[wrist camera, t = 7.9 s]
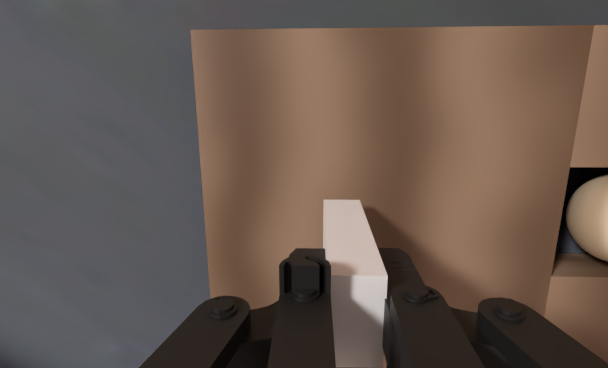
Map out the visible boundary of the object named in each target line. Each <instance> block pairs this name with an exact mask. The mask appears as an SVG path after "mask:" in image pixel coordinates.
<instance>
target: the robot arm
mask: <svg viewBox="0 0 608 368" xmlns="http://www.w3.org/2000/svg"><path fill="white" fill-rule="evenodd" d="M279 294H280V295H279V300H278V301H276V302H275V303H273V304H271V305H269V306H266V307H262V308H258V309H252V310H250V306H249V303H248V302H247V301H246V300H244V299H243V298H240V297H236V296H227V295H225V296H218V297H214V298H212V299H209V300H207V301H205V302H203V303H202V304H201V305H199V306H198V307H197V308H196V309H195V310H194V311H193V312H192V313H191V314H190V315H189V316H188V317H187V318H186V320H185V321H184V322H183V323H182V324H181V325H180V326H179V327H178V328H177V329H176V330H175V331H174V332H173V333H172V334H171V335H170V336H169V337H168V338H167V339H166V340H165V341H164V342H163V343H162V344H161V345H160V346H159V347H158V349H157V350H156V351H155V352H154V353H153V354H152V355H151V356H150V357H149V358H148V359H147V360H146V361H145V362H144V363H143V364H142V365H141V366H140V367H139V368H336V367H352V368H383V353H384V355H385V359H386V363H387V366H386V368H608V363H607V362H605V361H604V360H602V359H601V358H600V357H598V356H597V355H596V354H594V353H593V352H591V351H590V350H589V349H587V348H586V347H584V346H583V345H582V344H580V343H579V342H578V341H576V340H575V339H573V338H572V337H571V336H569V335H568V334H566V333H565V332H564V331H562V330H561V329H560V328H558V327H557V326H555V325H554V324H553V323H551V322H550V321H548V320H547V319H546V318H544V317H543V316H542V315H540V314H539V313H537V312H536V311H535V310H533V309H532V308H530V307H528V306H526V305H525V304H523V303H520V302H517V301H515V300H513V299H509V298H507V299H505V298H502V297H499V298H488V299H484V300H482V301H481V302H480V303H479V304H478V312H477V313H476V312H471V311H466V310H460V309H456V308H452V307H450V306H448V304H447V302H446V301H445V299H444V297H443V296H442V295H441V294H440V293H439V292H438V291H437V290H435V289H433V288H431V287H429V286H426V285H425V284H424V282H423V280H422V278H421V276H420V275H419V273H418V271H417V270H416V267H415V265H414V264H413V262H412V260H411V258H410V256H409V254H407V253H406V252H404V251H403V250H401V249H400V248H377V245H376V243H375V240H374V237H373V235H372V232H371V229H370V227H369V224H368V221H367V218H366V216H365V213H364V210H363V208H362V205H361V202H360V200H323V248H296V249H295V250H294V251H293V252H292V253H291V254H289V257H288V258H286V259H284V260H282V261H281V263H280V264H279Z"/></svg>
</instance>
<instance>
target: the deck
mask: <svg viewBox="0 0 608 368" xmlns="http://www.w3.org/2000/svg"><path fill="white" fill-rule="evenodd" d="M190 31H191V44H192V57H193V71H194V84H195V97H196V111H197V124H198V137H199V151H200V164H201V177H202V191H203V204H204V217H205V231H206V244H207V257H208V271H209V284H210V297H211V299H212V298H214V297H218V296H225V295H227V296H236V297H240V298H243V299H244V300H246V301H247V302H248V303H249V306H250V310H252V309H258V308H262V307H266V306H269V305H271V304H273V303H275V302H276V301H278V300H279V295H280V294H279V264H280V263H281V261H282V260H284V259H286V258H288V257H289V254H291V253H292V252H293V251H294V250H295V249H296V248H323V200H360V202H361V205H362V208H363V210H364V213H365V216H366V218H367V221H368V224H369V227H370V229H371V232H372V235H373V237H374V240H375V243H376V245H377V248H400V249H401V250H403V251H404V252H406V253H407V254H409V256H410V258H411V260H412V262H413V264H414V265H415V267H416V270H417V271H418V273H419V275H420V276H421V278H422V280H423V282H424V284H425V285H426V286H429V287H431V288H433V289H435V290H437V291H438V292H439V293H440V294H441V295H442V296H443V297H444V299H445V301H446V302H447V304H448V306H450V307H452V308H456V309H460V310H466V311H471V312H476V313H477V312H478V304H479V303H480V302H481V301H482V300H484V299H488V298H499V297H502V298H505V299H507V298H509V299H513V300H515V301H517V302H520V303H523V304H525V305H526V306H528V307H530V308H532V309H533V310H535V311H536V312H537V313H539V314H540V315H542V316H543V317H544V318H546V319H547V320H548V321H550V322H551V323H553V324H554V325H555V326H557V327H558V328H560V329H561V330H562V331H564V332H565V333H566V334H568V335H569V336H571V337H572V338H573V339H575V340H576V341H578V342H579V343H580V344H582V345H583V346H584V347H586V348H587V349H589V350H590V351H591V352H593V353H594V354H596V355H597V356H598V357H600V358H601V359H602V360H604V361H605V362H607V363H608V262H607V261H604V260H601V259H599V258H597V257H594V256H593V255H591V254H580V253H555V251H556V245H557V239H558V234H559V228H560V222H561V216H562V210H563V205H564V199H565V193H566V187H567V181H568V175H569V170H570V167H608V25H568V26H483V27H398V28H314V29H229V30H190ZM386 366H387V363H386V359H385V355H384V353H383V368H386ZM336 368H352V367H336Z"/></svg>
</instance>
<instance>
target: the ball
mask: <svg viewBox="0 0 608 368" xmlns="http://www.w3.org/2000/svg"><path fill="white" fill-rule="evenodd" d="M566 223H567V227H568V230H569V232H570V234H571V236H572V237H573V239H574V240H575V241H576V243H577V244H578V245H579V246H580V247H581V248H582V249H584V250H585V251H586V252H588V253H589V254H591V255H593V256H594V257H597V258H599V259H601V260H604V261H607V262H608V174H606V175H601V176H599V177H596V178H593V179H591V180H589V181H587V182H586V183H584V184H583V185H582V186H580V187H579V188H578V189H577V190H576V191H575V193H574V194H573V195H572V197H571V198H570V200H569V202H568V205H567V209H566Z"/></svg>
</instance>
